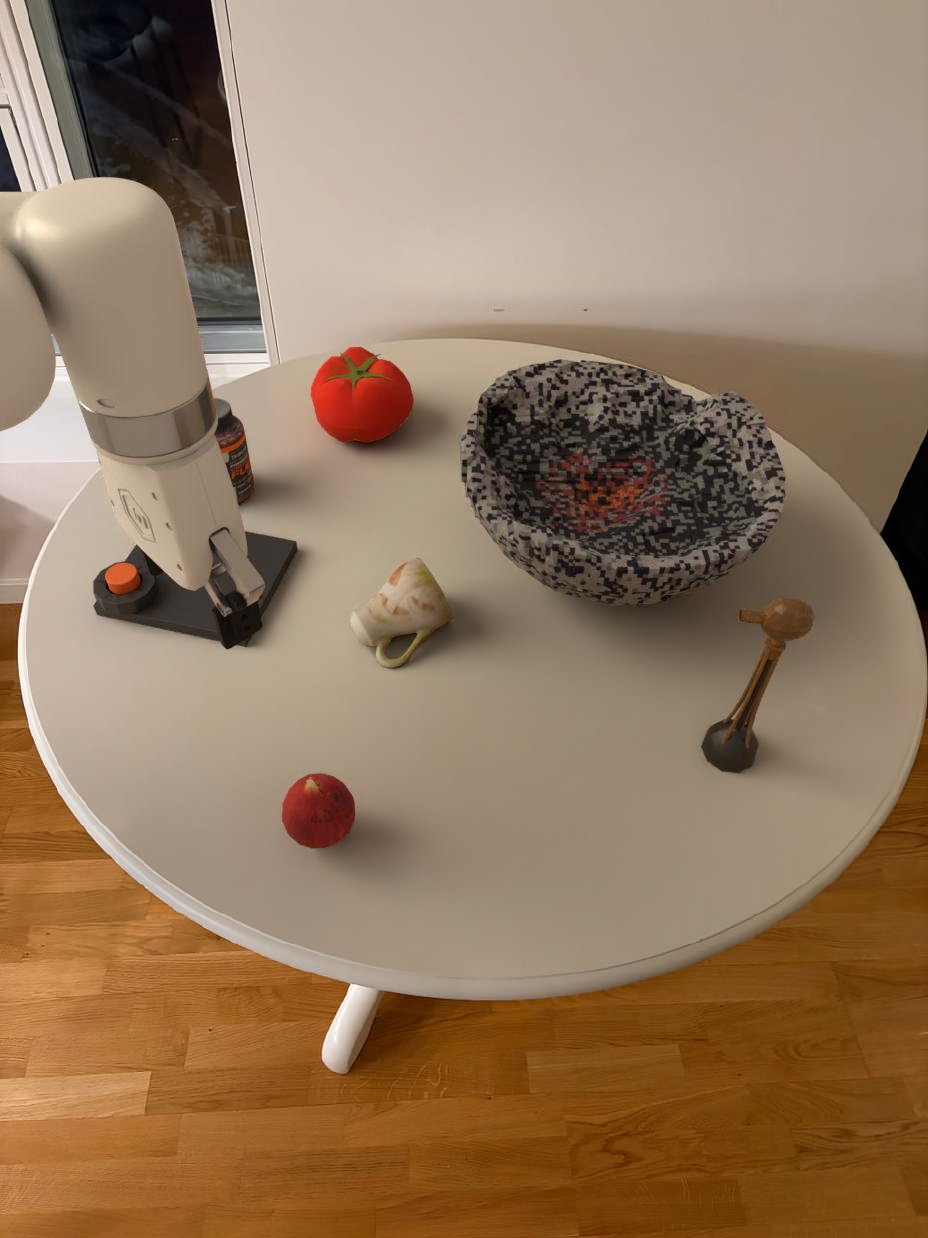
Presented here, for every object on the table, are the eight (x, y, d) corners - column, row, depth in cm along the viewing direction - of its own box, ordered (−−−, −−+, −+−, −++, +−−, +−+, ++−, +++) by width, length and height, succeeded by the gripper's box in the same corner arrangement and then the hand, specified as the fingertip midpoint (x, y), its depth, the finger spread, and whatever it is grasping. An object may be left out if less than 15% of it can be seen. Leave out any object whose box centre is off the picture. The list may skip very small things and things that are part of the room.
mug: (333, 627, 90) (362, 538, 86) (417, 636, 95) (449, 552, 91) (356, 668, 84) (390, 574, 80) (445, 675, 89) (480, 587, 86)
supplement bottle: (246, 511, 101) (228, 428, 92) (194, 504, 101) (173, 421, 93) (262, 477, 105) (247, 394, 96) (212, 471, 105) (193, 388, 97)
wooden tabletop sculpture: (690, 767, 80) (749, 619, 65) (688, 724, 83) (744, 573, 68) (757, 775, 80) (832, 628, 65) (753, 732, 83) (824, 582, 68)
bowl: (460, 668, 87) (464, 558, 75) (457, 461, 107) (459, 350, 96) (782, 669, 88) (833, 560, 76) (717, 464, 108) (750, 354, 97)
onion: (367, 812, 76) (362, 761, 70) (343, 873, 73) (335, 825, 67) (303, 795, 77) (292, 743, 71) (276, 854, 73) (262, 805, 67)
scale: (90, 617, 90) (81, 597, 88) (156, 522, 99) (150, 501, 97) (244, 650, 88) (239, 630, 85) (297, 550, 97) (294, 529, 95)
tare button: (103, 591, 89) (99, 581, 87) (118, 570, 91) (114, 559, 89) (131, 597, 88) (127, 587, 87) (145, 576, 90) (142, 565, 89)
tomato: (410, 459, 107) (408, 399, 101) (306, 454, 108) (298, 394, 101) (418, 397, 116) (417, 338, 109) (321, 392, 116) (315, 333, 110)
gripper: (21, 368, 56) (98, 563, 69) (173, 506, 48) (228, 697, 61) (129, 325, 59) (184, 518, 72) (288, 447, 51) (317, 639, 64)
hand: (204, 600), depth 66 cm, fingers open, 9 cm apart
